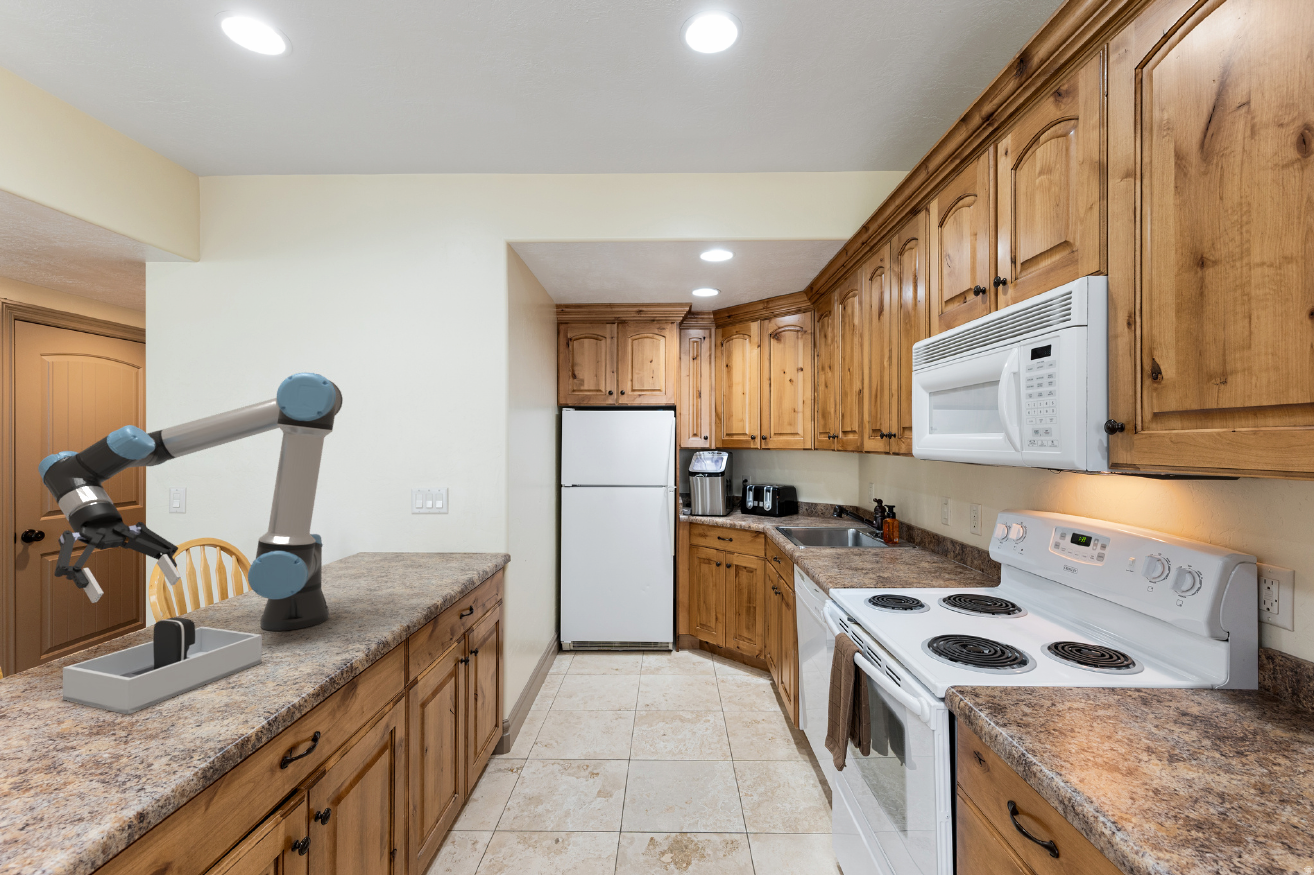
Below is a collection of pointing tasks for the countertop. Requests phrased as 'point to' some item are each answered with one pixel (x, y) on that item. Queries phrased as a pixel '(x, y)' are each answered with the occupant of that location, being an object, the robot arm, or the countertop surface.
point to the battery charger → (172, 640)
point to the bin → (159, 671)
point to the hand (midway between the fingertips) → (139, 589)
